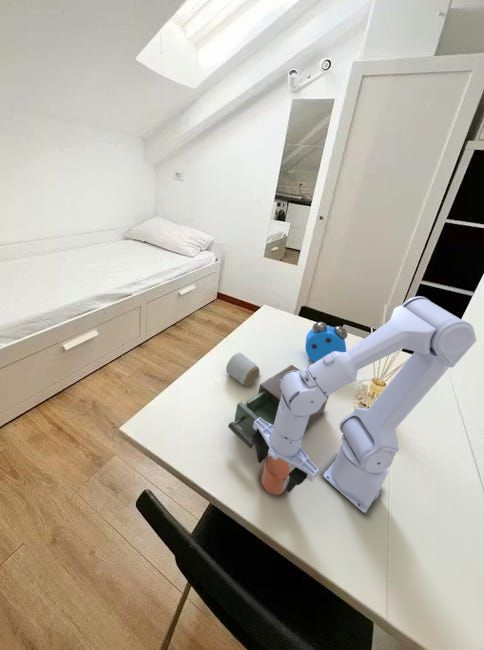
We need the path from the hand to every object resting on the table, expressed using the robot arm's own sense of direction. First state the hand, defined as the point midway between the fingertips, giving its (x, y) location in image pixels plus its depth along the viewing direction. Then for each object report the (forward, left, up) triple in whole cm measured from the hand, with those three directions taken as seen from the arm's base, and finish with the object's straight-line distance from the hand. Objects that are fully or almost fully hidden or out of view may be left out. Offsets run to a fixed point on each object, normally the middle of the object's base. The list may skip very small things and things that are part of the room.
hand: (275, 473), depth 62 cm
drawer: (+10, -8, -2) cm, 13 cm away
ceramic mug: (+27, -19, -3) cm, 33 cm away
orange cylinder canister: (0, 0, -3) cm, 3 cm away
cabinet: (+10, -20, -3) cm, 23 cm away
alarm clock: (+17, -49, -3) cm, 52 cm away
